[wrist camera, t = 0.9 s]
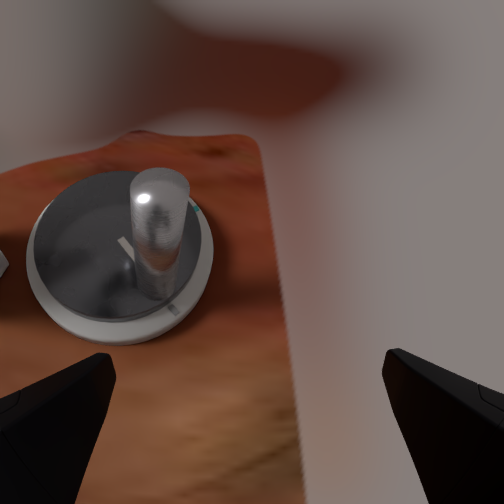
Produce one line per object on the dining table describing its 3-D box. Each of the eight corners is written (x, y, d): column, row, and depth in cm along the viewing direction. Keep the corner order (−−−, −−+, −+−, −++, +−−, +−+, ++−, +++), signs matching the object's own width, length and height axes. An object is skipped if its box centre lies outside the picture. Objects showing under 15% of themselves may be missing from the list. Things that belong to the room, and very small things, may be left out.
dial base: (197, 364, 18) (200, 358, 17) (7, 316, 16) (-2, 306, 14) (219, 202, 26) (223, 188, 25) (72, 175, 24) (70, 161, 22)
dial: (93, 360, 15) (39, 293, 8) (16, 227, 18) (-21, 131, 10) (234, 254, 22) (275, 155, 15) (139, 161, 24) (145, 67, 17)
